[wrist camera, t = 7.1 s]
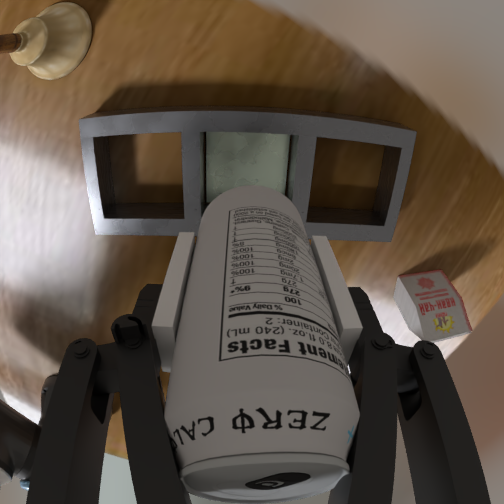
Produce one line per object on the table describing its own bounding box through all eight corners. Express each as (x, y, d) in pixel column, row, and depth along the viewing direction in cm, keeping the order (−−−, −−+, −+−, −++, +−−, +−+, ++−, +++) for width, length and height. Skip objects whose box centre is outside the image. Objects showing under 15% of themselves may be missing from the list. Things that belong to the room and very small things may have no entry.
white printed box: (435, 290, 40) (467, 342, 31) (393, 297, 40) (421, 354, 31) (441, 269, 38) (477, 320, 29) (397, 275, 38) (429, 332, 29)
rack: (107, 218, 32) (95, 234, 29) (94, 112, 26) (78, 119, 23) (379, 225, 34) (390, 241, 31) (400, 123, 28) (416, 131, 25)
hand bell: (79, 84, 24) (-36, 121, 11) (17, 75, 23) (-97, 111, 9) (103, 4, 20) (-6, -22, 7) (37, 1, 19) (-77, -4, 5)
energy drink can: (181, 227, 20) (118, 478, 7) (250, 157, 17) (270, 428, 5) (251, 281, 22) (261, 511, 10) (319, 224, 20) (404, 466, 7)
